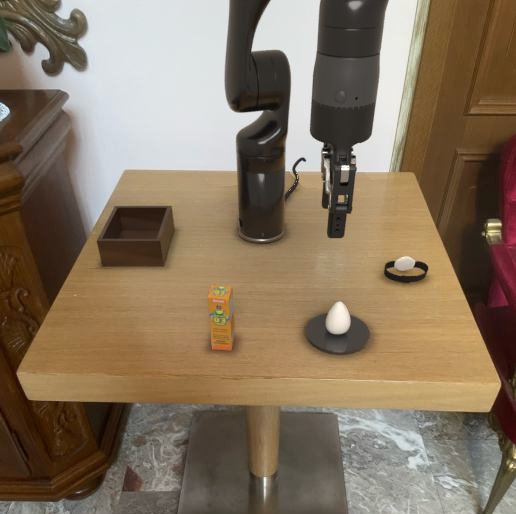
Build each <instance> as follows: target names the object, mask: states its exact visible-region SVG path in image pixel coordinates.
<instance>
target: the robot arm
mask: <svg viewBox="0 0 516 514" xmlns="http://www.w3.org/2000/svg"><path fill="white" fill-rule="evenodd" d="M228 1H229V2H228V20H227V33H226V44H225V45H226V46H225V57H224V73H223V74H224V76H223V77H224V79H223V83H224V95H225V99H226V102H227V105H228V107H229V109H230V110H231V111H232V112H234V113H237V114H245V113H246V114H247V113H255V112H261V114H260V115H259V116H258V117H257V118H256V119H255V120H254V121H252V123H249V124H247V125H246V126H244V127H243V128H241V129H240V130H239V131H238V132H237V133H236V135H235V156H236V158H235V159H236V181H237V184H236V185H237V207H238V209H237V211H238V217H237V224H238V235H239V236H240V238H241V239H243V240H244V241H247V242H250V243H255V244H268V243H272V242H276V241H278V240H280V239H282V238H283V236H284V235H285V205H286V204H285V203H286V201H287V199H288V197H289V196H290V195H291V194H292V192H293V191H294V190H295V189H296V187H297V186H298V184H299V180H300V177H299V174H298V172H297V169H296V168H297V166H298V165H299V164H300V163H301V162H304V163H306V162H307V159H306V158H305V157H303V156H302V157H299V158H298V159H297V160H296V161H295V162H294V164H293V165H292V168H291V171H292V173H293V175H294V178H295V180H294V182H293V184H292V186H291V187H289V189H288V190H287V191H286V154H287V138H288V135H289V123H290V122H289V118H290V107H291V106H290V105H291V95H292V71H291V65H290V61H289V58H288V57H287V56H288V55H287V54H286V53H285V52H284V51H283V50H280V49H265V50H252V49H253V46H254V45H253V44H254V39H255V37H256V32H257V29H258V26H259V23H260V21H261V19H262V16H263V15H264V13H265V12H266V10H267V7H268V6H269V5H270V2H271V1H272V0H228ZM389 1H390V0H320V1H319V8H318V19H317V21H318V23H317V40H316V53H315V59H314V65H313V71H312V84H311V85H312V86H311V87H312V88H311V103H310V118H309V119H310V120H309V134H310V136H311V137H312V138H313V139H314V140H316V141H317V142H320V143H323V146H322V147H321V152H320V173H321V180H322V181H323V182H322V191H321V192H322V194H321V208H322V209H324V210H328V215H327V225H326V226H327V227H326V235H327V237H328V238H329V239H342V238H344V237H345V233H346V226H347V215H348V214H349V215H351V214H352V211H353V201H354V193H355V192H354V190H355V183H356V182H355V181H356V175H357V173H356V172H358V171H357V170H358V168H357V155H356V154H354V146H356V145H358V144H362V143H365V142H367V141H368V140H369V139H370V138H371V136H372V134H373V128H374V121H375V120H374V119H375V113H376V107H377V105H376V104H377V99H378V98H377V97H378V90H379V82H380V74H381V73H380V72H381V50H382V42H383V35H384V29H385V21H386V19H385V18H386V11H387V8H388V4H389ZM296 173H297V174H296ZM297 175H298V179H297ZM296 181H297V182H296ZM294 184H295V185H294ZM290 189H291V190H290ZM289 190H290V191H289ZM339 196H343V201H339Z"/></svg>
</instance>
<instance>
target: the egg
mask: <svg viewBox="0 0 516 514" xmlns="http://www.w3.org/2000/svg"><path fill="white" fill-rule="evenodd" d="M327 313H328V315H327V317H326V328H327V330H328V331H329V332H330V333H332V334H343V333H345V332H346V331H347V330H348V329H349V327H350V322H351V319H350V315H351V314H350V312H349V310H348V308H347V306H346V304H345V303H344V302H342V301H341V300H340V301H336V302H335V303H334V304H333V305H332V306H331V308H330V309H329V311H328V312H327Z"/></svg>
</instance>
